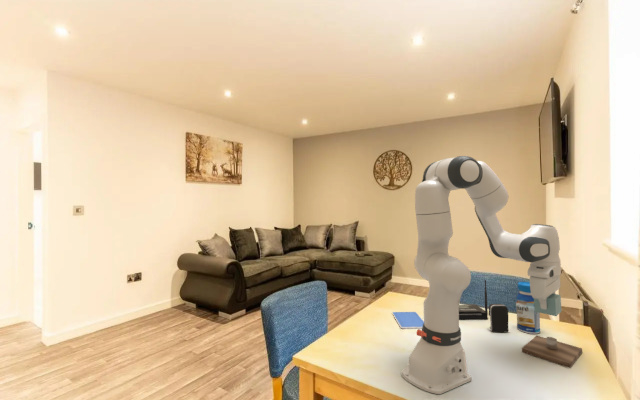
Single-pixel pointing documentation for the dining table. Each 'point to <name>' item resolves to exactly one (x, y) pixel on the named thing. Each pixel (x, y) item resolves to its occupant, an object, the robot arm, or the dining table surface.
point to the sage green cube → (549, 305)
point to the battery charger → (498, 317)
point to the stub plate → (552, 351)
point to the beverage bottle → (526, 310)
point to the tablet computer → (408, 320)
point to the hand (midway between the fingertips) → (547, 305)
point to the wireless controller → (474, 311)
